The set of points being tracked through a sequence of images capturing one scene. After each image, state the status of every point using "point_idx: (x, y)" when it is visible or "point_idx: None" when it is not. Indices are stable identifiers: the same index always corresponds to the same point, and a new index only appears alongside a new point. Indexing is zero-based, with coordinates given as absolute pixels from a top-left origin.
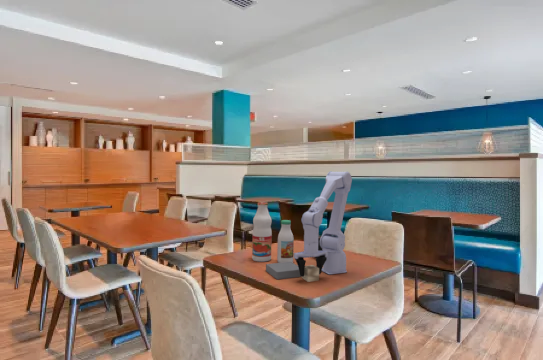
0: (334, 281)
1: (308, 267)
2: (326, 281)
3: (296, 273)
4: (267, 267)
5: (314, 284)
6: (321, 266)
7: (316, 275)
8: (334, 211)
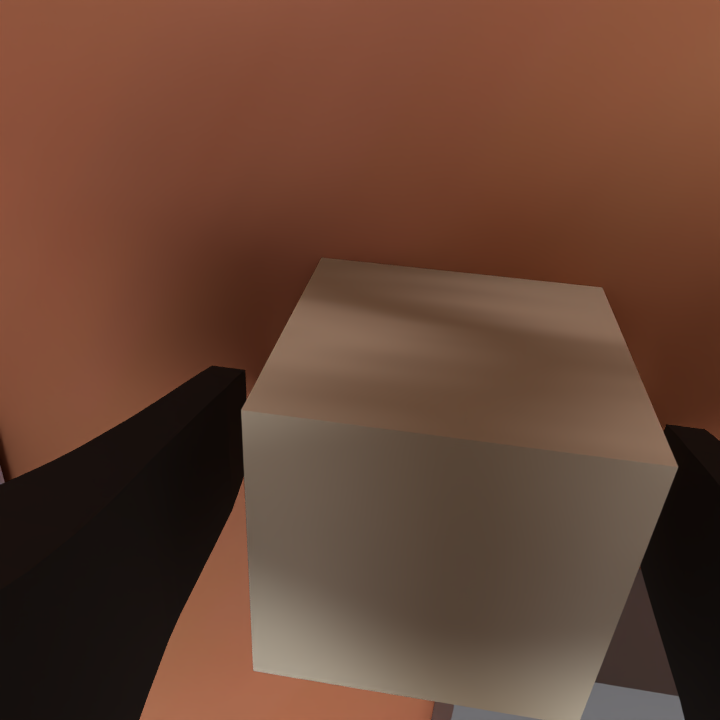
0: (14, 44)
1: (508, 592)
2: (195, 128)
3: (627, 623)
4: None
5: (596, 67)
6: (111, 463)
7: (369, 317)
8: None
